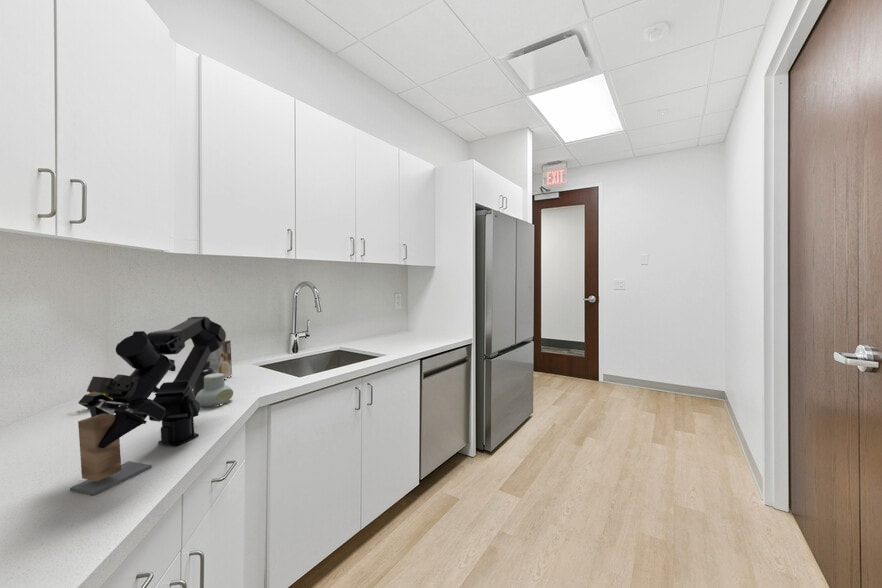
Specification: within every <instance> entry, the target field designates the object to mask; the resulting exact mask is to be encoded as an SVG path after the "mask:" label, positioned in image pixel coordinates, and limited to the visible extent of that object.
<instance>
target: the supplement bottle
mask: <svg viewBox="0 0 882 588" xmlns="http://www.w3.org/2000/svg"><path fill="white" fill-rule="evenodd" d="M210 366H211V365H210V361H206V363H205V365H204V367H203V369H202V371H201V373H200V375H199V377H198V379H197V381H196V383H195V385H194V387H193V389H192V391H193V393H194V396H195V397H196V395H197V393H198V392H199V391H200V390H202V389H204V377H205V376H206V375H209V374H214V370H213V369H212V368H210Z"/></svg>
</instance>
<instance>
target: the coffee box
mask: <svg viewBox="0 0 882 588" xmlns="http://www.w3.org/2000/svg"><path fill="white" fill-rule="evenodd" d="M231 345H232V344H231V340H225V341H224V342H223V344H222V345H221V347H220V348H219V349H217V350H215V351H214V352H212V353H211V354H210V355H209V357H208V359H207V361H210V365H211V366H210V368H212V369H213V370H214V373H222V374H224V379H225V378H227V377H229V376H231V375H232V376H233V368H232V367H233V365H232V347H231ZM229 378H230V377H229ZM227 379H228V378H227ZM225 380H226V379H225Z"/></svg>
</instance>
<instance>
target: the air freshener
mask: <svg viewBox="0 0 882 588" xmlns="http://www.w3.org/2000/svg"><path fill="white" fill-rule="evenodd" d="M233 395H234V391H233V388H232V387H230V386H228V385H225V380H224V374H222V373H214V374H209V375H206V376H205V377H204V389H202V390H200V391H199V392H198V393H197V395H196V396H195V399H196V401H197V402H198V403H199V404H200V406H204V407H218V406H217V405H219V406H221V405H220V404H223V405H224V404H225V403H227V402H228V401H230V400H231V399H232V397H233Z"/></svg>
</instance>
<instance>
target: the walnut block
mask: <svg viewBox="0 0 882 588" xmlns="http://www.w3.org/2000/svg"><path fill="white" fill-rule="evenodd" d="M114 421H115V414H105V413H103V414H99V415H96V416H93V417H91V416H90V417H88V418H84V419H82V420H78V423H77V426H78V427H77V428H78V438H79V439H78V441H79V442H78V443H79V454H80V467H81V469H80V471H81V479H83V480H93V481H99V480H101V479H103V478H106V477H108V476H110V475H112V474H114V473H116V472H118V471H121V465H122V456H121V443H120V438H119V439H117V440H116V441H114V442H112V443H111V444H109V445H108V446H106V447H105V448H100V447H98V445H99V443H100V442H101V440H102V438H103V437H104V435H105V434H106V432H107V431H108V429H109V428H110V426H111V425H112V424H113V422H114Z"/></svg>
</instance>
